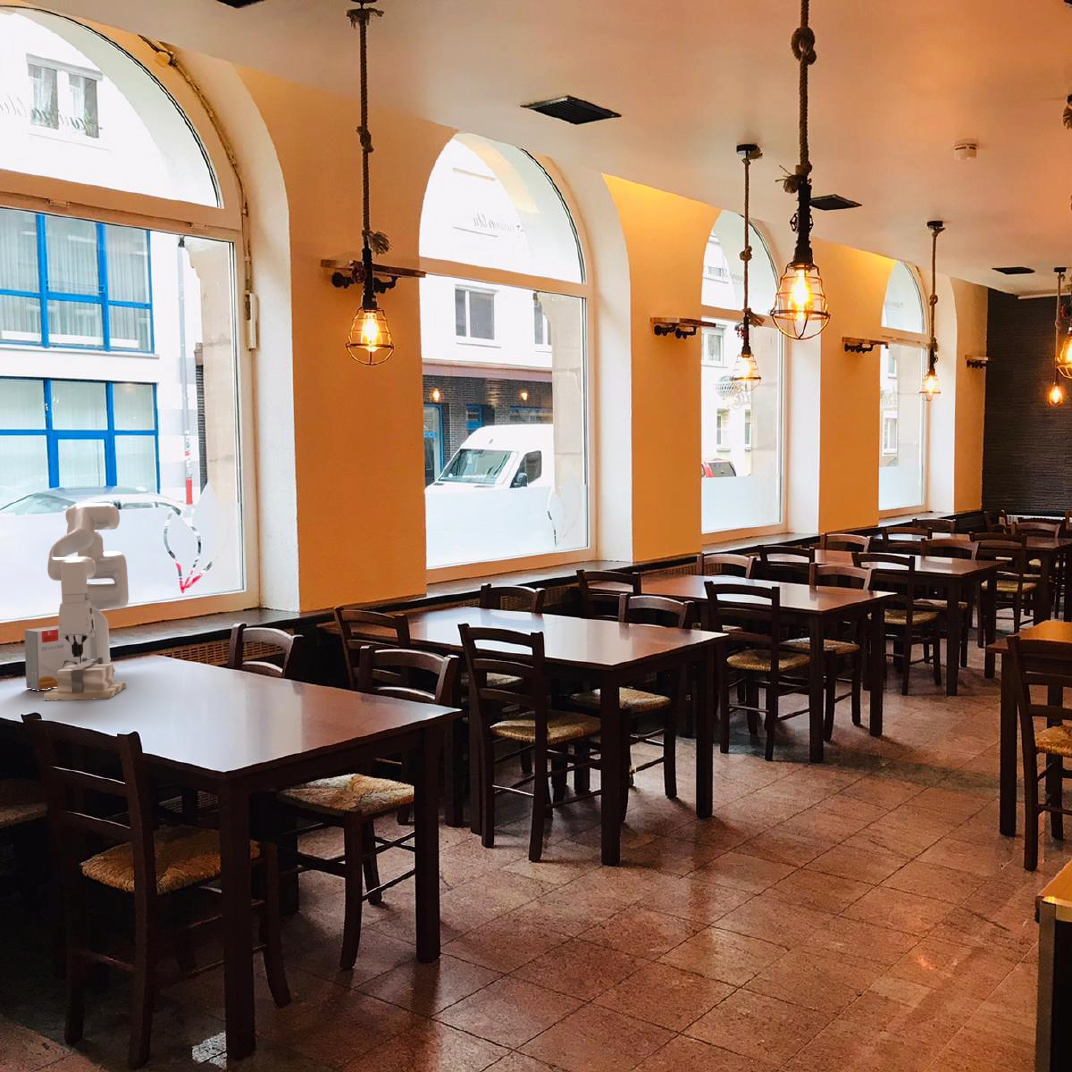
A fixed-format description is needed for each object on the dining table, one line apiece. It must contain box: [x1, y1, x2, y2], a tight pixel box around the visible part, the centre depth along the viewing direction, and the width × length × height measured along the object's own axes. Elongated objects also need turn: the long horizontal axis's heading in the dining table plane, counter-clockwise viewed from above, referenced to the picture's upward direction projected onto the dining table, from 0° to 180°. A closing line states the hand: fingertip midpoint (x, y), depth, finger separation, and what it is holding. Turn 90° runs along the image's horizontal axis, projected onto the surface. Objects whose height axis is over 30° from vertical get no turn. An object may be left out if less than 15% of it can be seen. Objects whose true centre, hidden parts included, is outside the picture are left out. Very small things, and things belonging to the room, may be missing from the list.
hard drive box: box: [23, 625, 81, 690], centre depth 376 cm, size 16×8×20 cm, turn 143°
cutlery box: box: [43, 657, 127, 701], centre depth 364 cm, size 17×20×10 cm
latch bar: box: [71, 659, 98, 670], centre depth 363 cm, size 16×3×1 cm, turn 3°
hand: (77, 656), depth 358 cm, fingers closed
